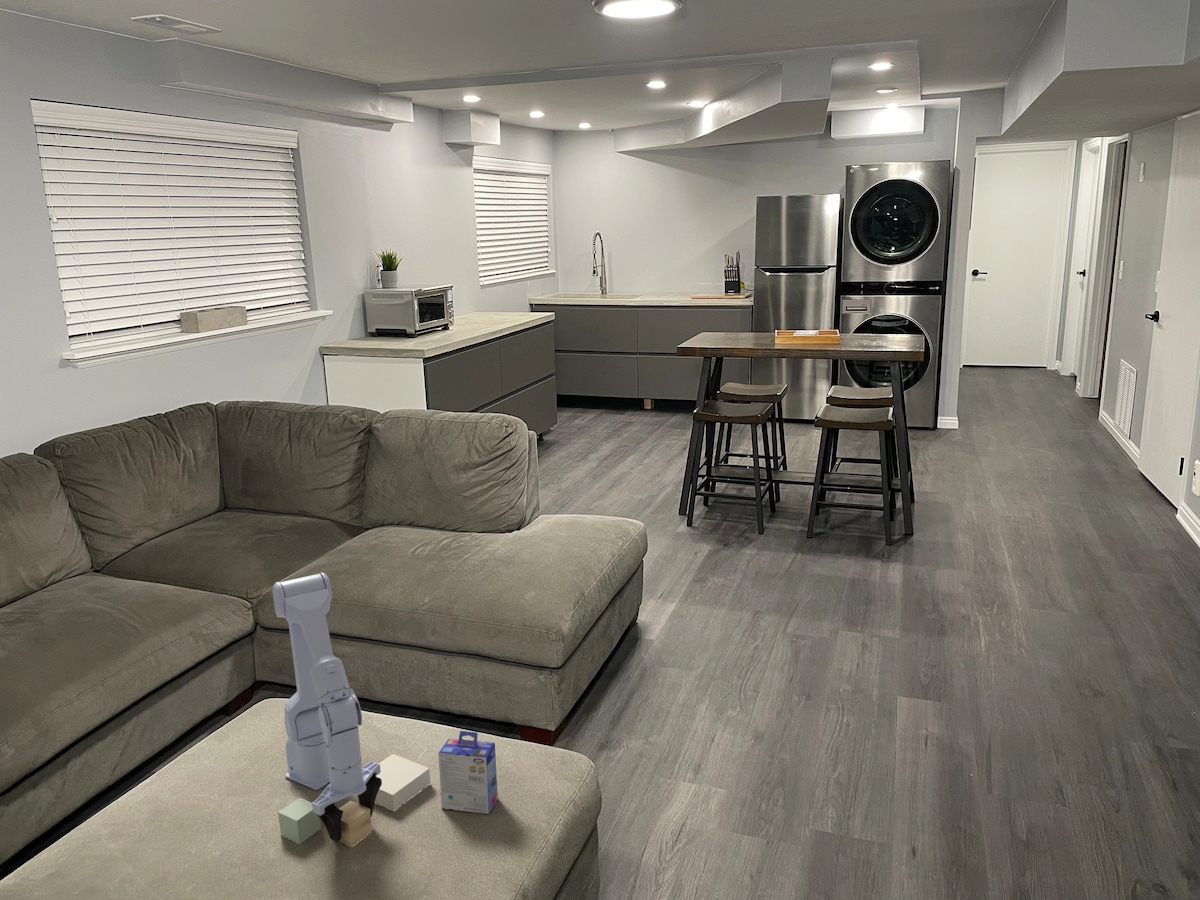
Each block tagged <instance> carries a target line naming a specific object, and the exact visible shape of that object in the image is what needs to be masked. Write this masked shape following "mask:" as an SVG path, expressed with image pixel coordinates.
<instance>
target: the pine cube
mask: <svg viewBox="0 0 1200 900" xmlns="http://www.w3.org/2000/svg"><path fill="white" fill-rule="evenodd" d="M338 809H340V810H342V811H343V814H342V819H341V840H340V841H339V842H338V843H340V842H342V843H344V844H347V845H349V846H351V847H352V846H353V845H354V844H356V843H357V842H358V841H360V840H361V839H362V838H364V837H365V836H367V834H369V833H370V832H371V831H372V832H373V825H372V817H371V815H370V809H369V808H367V807H365V806H362V805H360V804H359V802H358V803H357V802H355V801H353V800H349V801H348V802H346V803H345V804H343V805H342V806H340V807H339V808H338ZM369 835H370V834H369ZM367 837H368V836H367ZM365 838H366V837H365ZM365 838H364V839H365ZM360 842H361V841H360ZM342 843H341V844H342ZM344 844H343V845H344ZM356 845H357V844H356ZM351 847H350V848H351Z"/></svg>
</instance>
